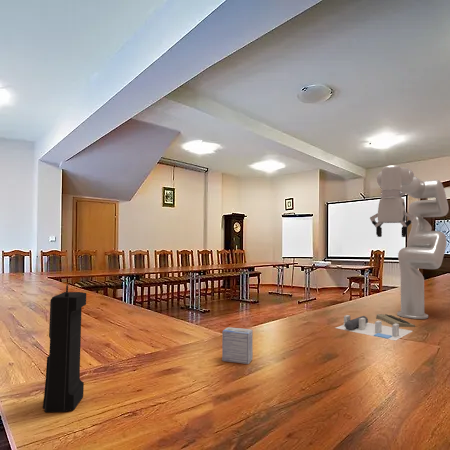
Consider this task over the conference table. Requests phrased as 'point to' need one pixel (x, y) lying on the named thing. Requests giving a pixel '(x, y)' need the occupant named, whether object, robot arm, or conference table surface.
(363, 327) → the board
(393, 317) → the computer
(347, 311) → the conference table surface
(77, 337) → the portable radio
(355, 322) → the dark grey rounded peg
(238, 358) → the medicine box
